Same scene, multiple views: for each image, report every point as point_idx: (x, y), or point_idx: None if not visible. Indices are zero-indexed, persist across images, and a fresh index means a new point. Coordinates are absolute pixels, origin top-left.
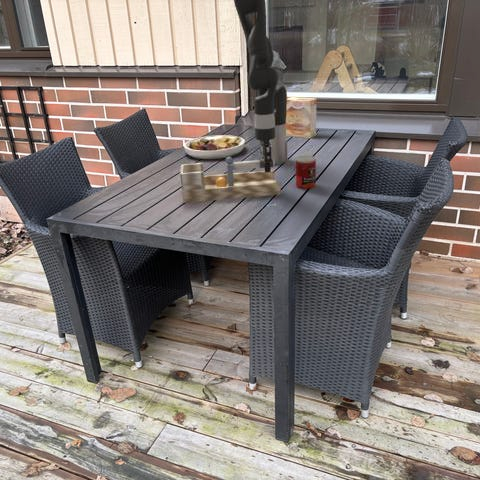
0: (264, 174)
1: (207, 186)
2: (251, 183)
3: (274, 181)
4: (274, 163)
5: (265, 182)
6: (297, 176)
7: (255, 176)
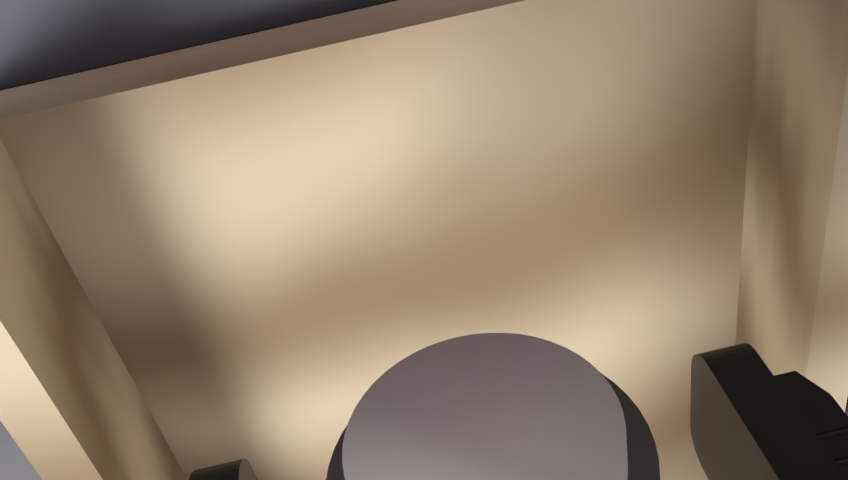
0: (65, 352)
1: None
2: None
3: (240, 100)
4: (615, 405)
5: (305, 253)
6: None
7: (145, 457)
